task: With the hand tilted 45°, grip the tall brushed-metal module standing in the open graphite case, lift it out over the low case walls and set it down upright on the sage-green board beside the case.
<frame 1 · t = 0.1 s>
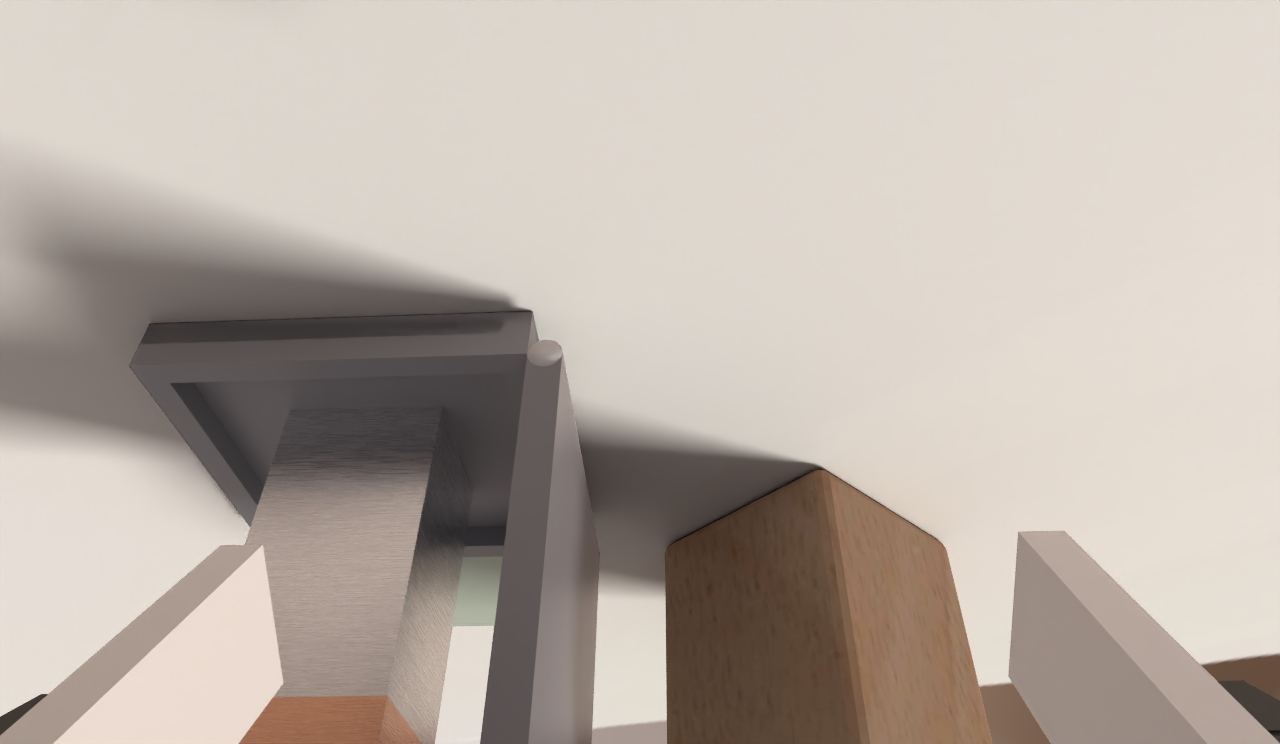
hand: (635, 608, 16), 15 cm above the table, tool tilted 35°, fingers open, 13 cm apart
sage board: (454, 575, 47), on the table
module: (386, 453, 37), point 1 cm above the table, touching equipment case
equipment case: (391, 433, 38), on the table
wooden block: (803, 540, 44), on the table
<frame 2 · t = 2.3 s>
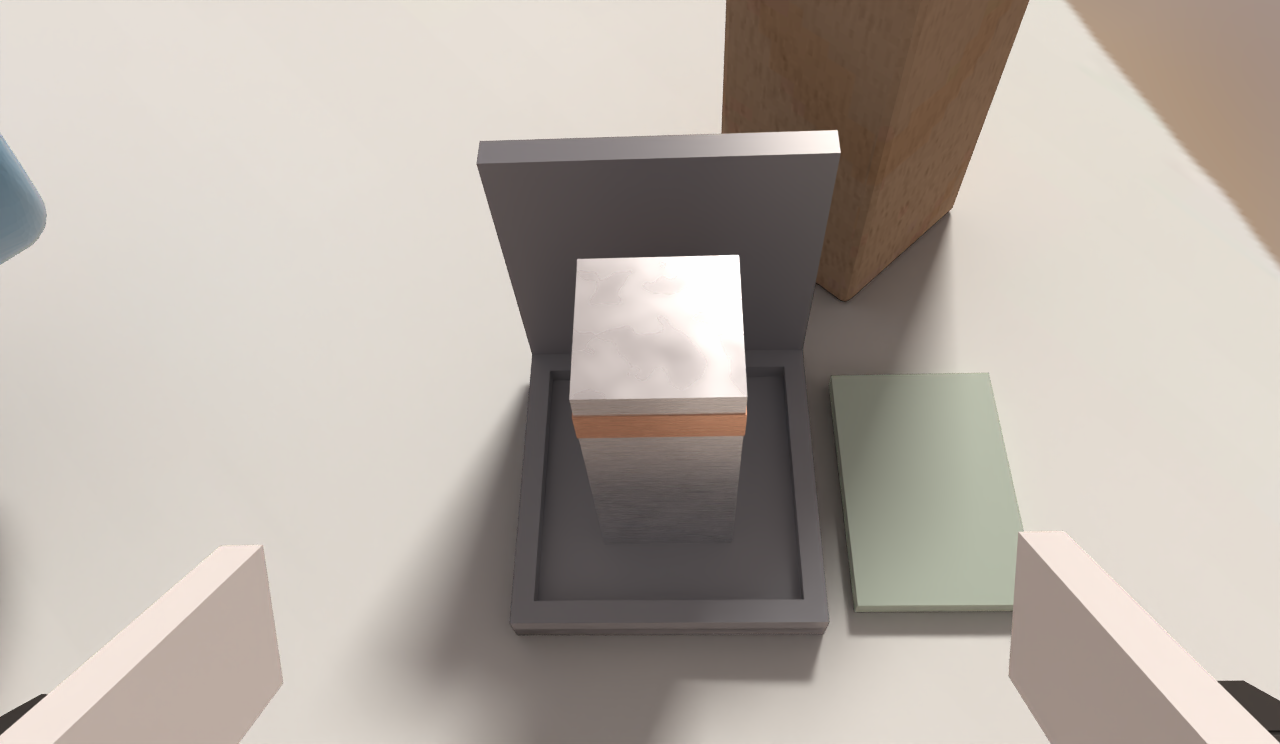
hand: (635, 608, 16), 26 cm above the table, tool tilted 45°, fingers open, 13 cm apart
sage board: (923, 489, 44), on the table
module: (667, 484, 44), point 1 cm above the table, touching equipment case
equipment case: (668, 492, 45), on the table
wooden block: (833, 212, 54), on the table
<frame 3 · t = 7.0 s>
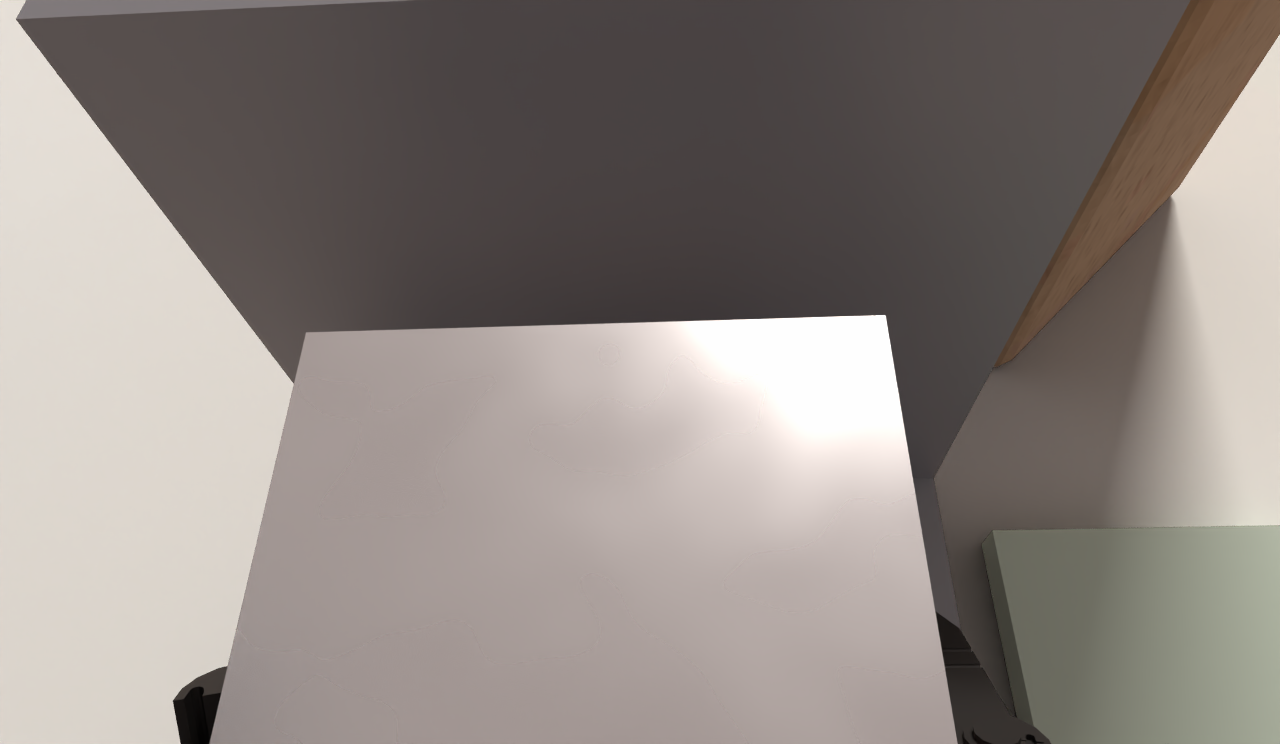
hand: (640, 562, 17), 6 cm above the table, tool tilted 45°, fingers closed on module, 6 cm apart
wooden block: (955, 198, 30), on the table
when the fingers open (7 cm above the table, at t = 13.7 s): module drops 1 cm, resting on sage board.
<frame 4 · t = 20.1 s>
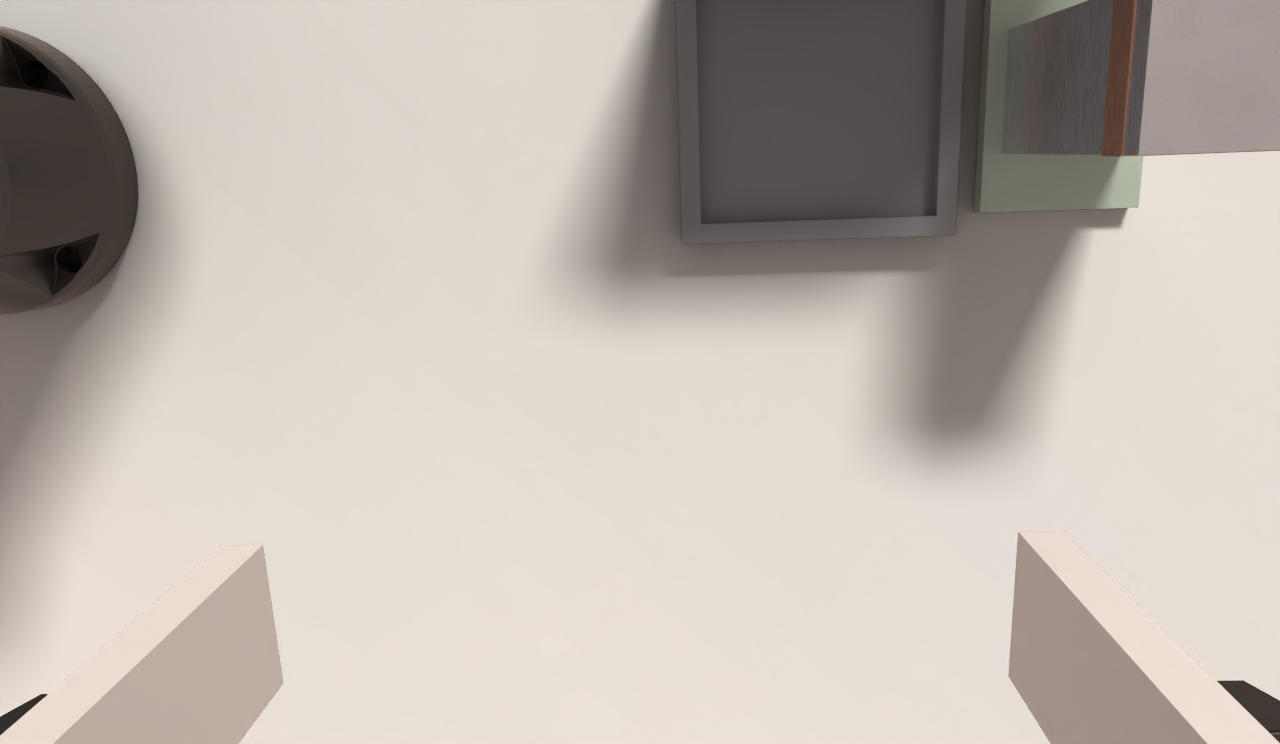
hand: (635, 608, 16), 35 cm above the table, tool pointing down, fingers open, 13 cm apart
sage board: (1059, 90, 46), on the table
module: (1066, 90, 45), point 1 cm above the table, touching sage board
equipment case: (813, 100, 46), on the table
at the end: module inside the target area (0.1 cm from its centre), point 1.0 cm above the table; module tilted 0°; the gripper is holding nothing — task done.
